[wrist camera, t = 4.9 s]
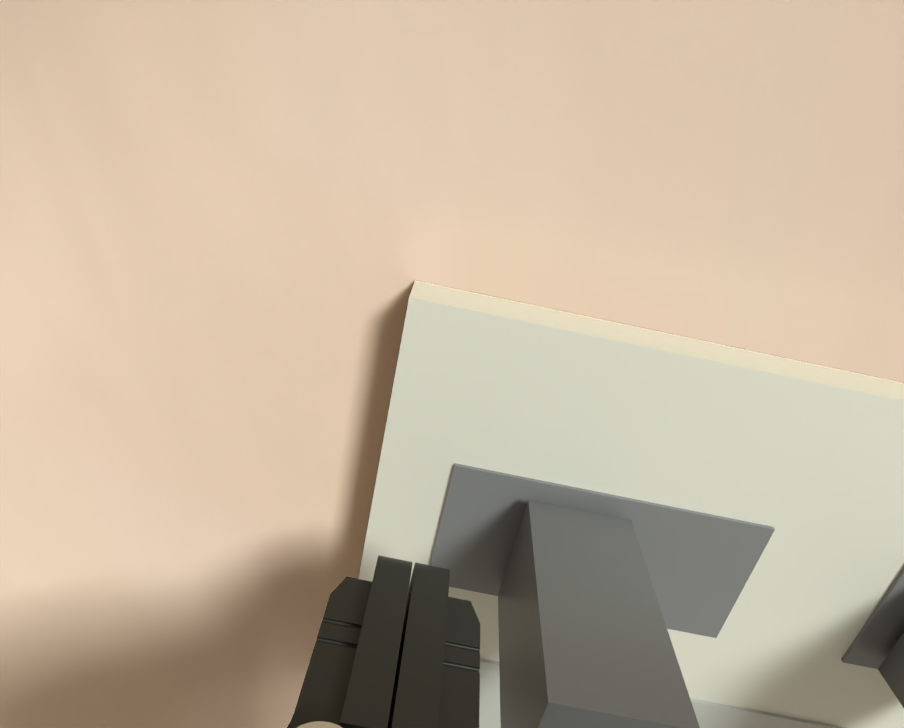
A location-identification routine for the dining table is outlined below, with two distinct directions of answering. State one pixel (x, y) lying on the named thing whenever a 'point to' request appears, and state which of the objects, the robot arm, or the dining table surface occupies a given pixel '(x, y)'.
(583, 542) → the switch
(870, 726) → the switch panel
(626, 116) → the dining table surface
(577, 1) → the dining table surface
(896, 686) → the middle switch
